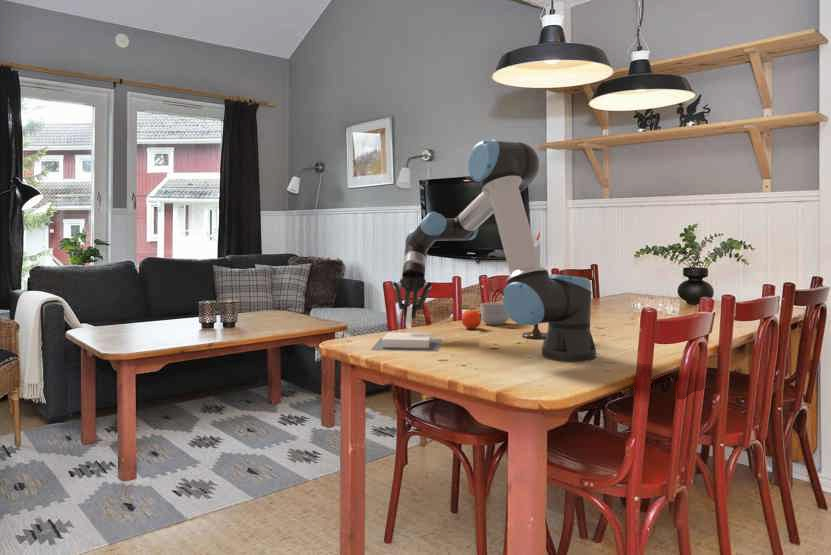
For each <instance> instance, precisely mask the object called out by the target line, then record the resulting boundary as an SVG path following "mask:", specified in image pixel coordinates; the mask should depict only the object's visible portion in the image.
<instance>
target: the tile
mask: <svg viewBox="0 0 831 555" xmlns="http://www.w3.org/2000/svg"><path fill="white" fill-rule="evenodd" d="M432 335H433V334H432V332H389V331H388V332H386V334H384V335H383V337H382V338H383V339H382V347H383V348H405V349H428V348H429V346H430V344H431V341H432V339H433V338H432V337H433V336H432Z"/></svg>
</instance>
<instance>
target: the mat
mask: <svg viewBox="0 0 831 555" xmlns="http://www.w3.org/2000/svg"><path fill="white" fill-rule="evenodd" d="M382 339H383V337H380V338H379V340H378V341H377V342H376V343H375V344H374V345H373V346H372V347H371V349H370V351H390V352H391V351H394V352H395V351H396V352H397V351H401V352H439V349H440V346H441V344H442V341H443V339H442V338H432V341H431V344H430V346H429V348H428V349H405V348H383V347H382Z"/></svg>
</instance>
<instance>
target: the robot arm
mask: <svg viewBox="0 0 831 555" xmlns="http://www.w3.org/2000/svg"><path fill="white" fill-rule="evenodd" d="M467 161H468V162H467V170H468V174H469V177H470V178H471V179H472V180H473V181H475V182H478V183H480V187H481V193H479V194H478V196H476V197H475V199H473V200H472V201H471V202H470V203H469V204H468V205H467V206H466V208H465V209H463V211H461V212H460V213H459V214H458V215H457V216H456V217H455V218H448V217H447V218H446V217H445V216H444V215H443V214H441V213H438V212H436V211H431V212H429V213H427V214H426V215H425V217H424V218H423V219H421V221H420V223H419V225H418V226H417V228H413V229H411V230H409V231H408V232H407V234H406V238H405V247H404V248H405V249H404V258H403V265H402V274H401V275H402V276H401V278H400V280H399V281H398V282H396V281H394V282H392V286H393V290H394V291H395V292H396V298H397V303H398V309H399V310H401V311H402V310H403V318H404V319H405V328H406V329H412V327H413V325H412V324H413V319H414V320H415V319H416V317H417V311H418V310H419V311H421V310H423V308H424V305H425V303H426V300H427V298H428V296H429V292H431V291H432V289H433V287H432V285H433V284H432V282H427V281H426V278H425V277H426V267H427V254H428V251H429V249H430V248H431V247H432V246H433V244H434V243H435V242H436V241H437V242H438V241H440V242H441V241H442V242H443V241H446V242H447V241H464V242H465V241H472V240H474V239H475V238H476V237H477V235H478V232H479V227H480V226H481V225H482V224H484V223H485V221H487V220H488V219H489V218H490V217H491V216H492V215H493V216H494V218H495V223H496V226H497V230H498V235H499V237H500V240H501V245H502V248H503V252H504V255H505V260H506V264H507V267H508V271H509V275H508V277H507V279H506V287H505V288H504V289H503V292H502V294H503V296H502V302H503V306H504V309H505V311H506V313H507V315H508V316H509V318H510V320H512V322H515V323H516V324H518V325H522V326H529V325H530V326H534V325H536V324H538V325H539V324H546V323H547V326H548V328H547V331H546V333H547V334H546V337H545V339H543V343H542V345H541V356H542V357H544V358H546V359H550V360H555V361H562V362H564V361H565V362H586V360H587V361H591V360H595V359H596V358H597V348H596V344H595V342H594V341H595V340H594V339H593V336H592V331H591V316H592V315H591V314H592V313H591V309H592V293H593V292H592V285H591V284H592V282H591V280H590V279H589V278H588V277H581V276H571V275H563V274H550V273H549V271H548V269H546V268H545V267H543V266H542V265H541V261H540V262H539V259H538V255H537V251H536V248H535V245H536V243H535V241H534V238H533V234H532V231H531V230H532V229H531V228H530V227H531V226H530V223H529V220H528V219H529V218H528V216H527V213H526V210H525V209H526V208H525V205H524V202H523V198H522V194H521V192H522V191H524V190H525V189H527V187H529V186H530V185H531V184H532V183H533V182H534V181H535V179H536V177H537V176H538V172H539V170H540V159H539V156H538V154H537V152H536V151H535V149H534V148H533V147H532V146H531V145H528V144H527V143H525V142H517V141H516V142H515V141H514V142H513V141H502V140H496V139H491V140H490V139H489V140H488V139H487V140H485V139H484V140H482V141H479V142H477V143H476V144H475V146H474V147H473V148H472V149H471V151H470V154H469V157H468V160H467ZM401 287H402V288H403V289H404V290H405V294H404V302H403V298H402V294H401ZM422 288H423V290H422V293H421V295H420V298H419V292H420V290H421V289H422ZM411 292H412V293H413V294H412V293H411ZM411 294H412V304H411V306H410V298H411ZM418 298H419V300H418ZM594 358H595V359H594Z"/></svg>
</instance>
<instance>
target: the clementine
mask: <svg viewBox="0 0 831 555" xmlns="http://www.w3.org/2000/svg"><path fill="white" fill-rule="evenodd" d="M463 312H464V313H462V316H461V323H462V325H463V326H464V327H465V328H466V329H469V330H474V329H477V328H478V327H479V326H480V325H481V323H482V318H481V313H479V311H477V310H475V309H472V308H471V309H465V310H464V311H463Z"/></svg>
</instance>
